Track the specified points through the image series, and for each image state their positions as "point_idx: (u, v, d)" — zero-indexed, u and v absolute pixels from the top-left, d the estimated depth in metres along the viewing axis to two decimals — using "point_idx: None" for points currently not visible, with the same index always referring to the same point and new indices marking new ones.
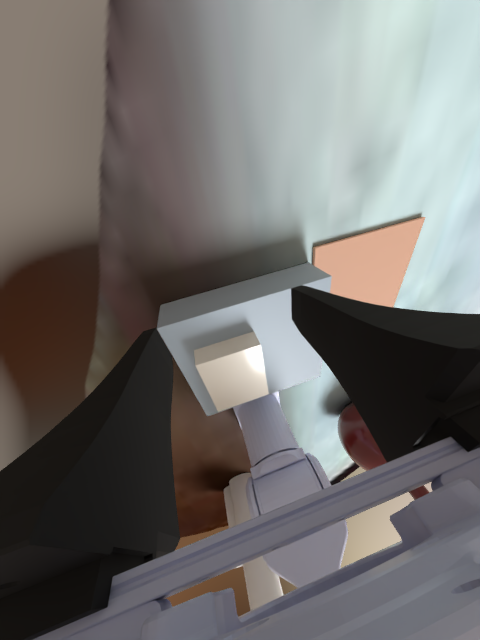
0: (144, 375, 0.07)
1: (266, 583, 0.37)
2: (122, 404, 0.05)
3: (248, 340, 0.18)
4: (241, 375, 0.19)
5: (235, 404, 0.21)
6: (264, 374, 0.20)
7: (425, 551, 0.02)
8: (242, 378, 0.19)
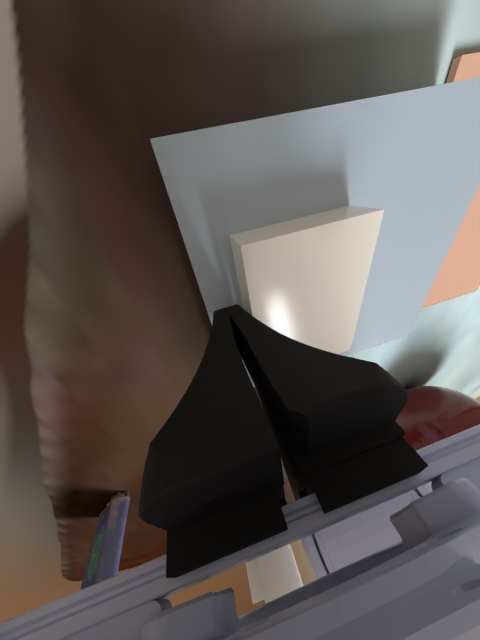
0: None
1: None
2: None
3: (348, 211, 0.08)
4: (323, 295, 0.09)
5: None
6: (360, 301, 0.10)
7: (425, 551, 0.02)
8: (321, 305, 0.10)
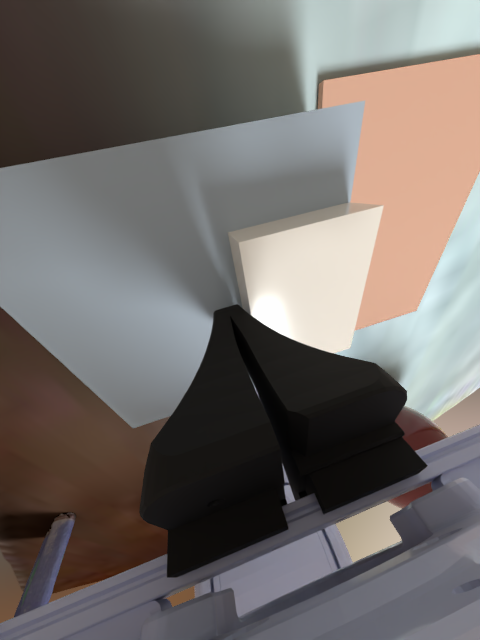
0: None
1: None
2: None
3: (346, 208, 0.08)
4: (322, 292, 0.09)
5: None
6: (359, 299, 0.10)
7: (425, 551, 0.02)
8: (320, 302, 0.10)
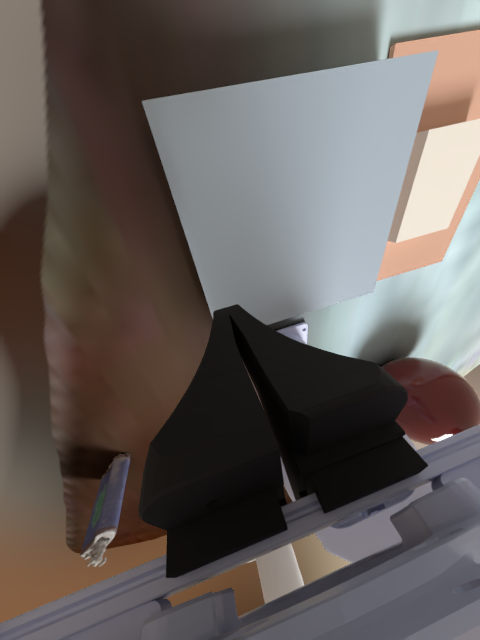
0: None
1: (287, 580, 0.29)
2: None
3: None
4: None
5: None
6: None
7: (425, 551, 0.02)
8: None
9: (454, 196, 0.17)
